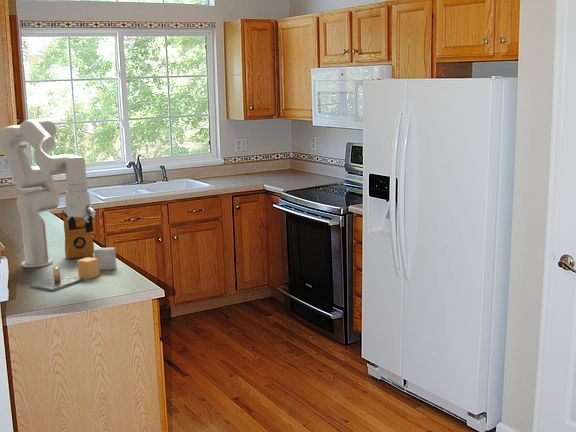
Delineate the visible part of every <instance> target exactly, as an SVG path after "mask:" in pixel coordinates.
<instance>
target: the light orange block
mask: <svg viewBox="0 0 576 432" xmlns="http://www.w3.org/2000/svg"><path fill="white" fill-rule="evenodd" d="M77 272H78V277H80V278H84V279H87V280H91V279H93V278H96V277H98V276H100V270H99V266H98V259H97V258H95V257H86V258H79V259H77Z"/></svg>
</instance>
